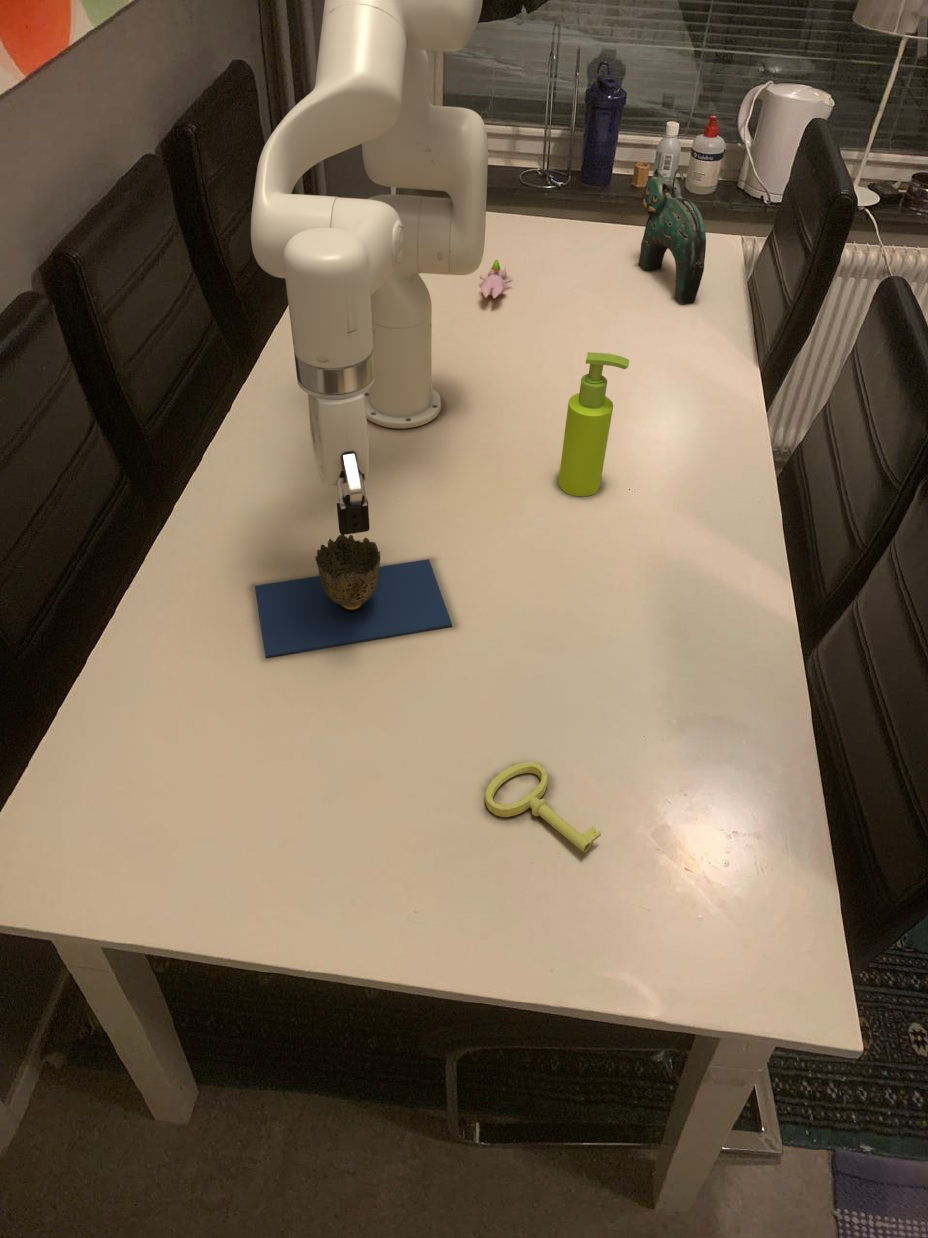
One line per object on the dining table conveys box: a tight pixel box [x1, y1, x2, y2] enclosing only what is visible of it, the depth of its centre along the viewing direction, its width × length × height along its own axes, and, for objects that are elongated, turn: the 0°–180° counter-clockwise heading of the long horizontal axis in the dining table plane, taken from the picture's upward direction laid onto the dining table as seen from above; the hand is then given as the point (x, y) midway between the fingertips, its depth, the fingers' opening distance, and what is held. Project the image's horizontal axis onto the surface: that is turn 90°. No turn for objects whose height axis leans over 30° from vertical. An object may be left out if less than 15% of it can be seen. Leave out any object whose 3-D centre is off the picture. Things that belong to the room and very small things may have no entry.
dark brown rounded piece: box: [314, 534, 381, 612], centre depth 108 cm, size 8×7×8 cm
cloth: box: [254, 558, 453, 659], centre depth 111 cm, size 12×22×1 cm, turn 105°
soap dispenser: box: [558, 351, 630, 497], centre depth 122 cm, size 6×7×20 cm
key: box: [484, 761, 602, 853], centre depth 91 cm, size 7×12×2 cm, turn 60°
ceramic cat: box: [638, 168, 707, 305], centre depth 168 cm, size 20×6×20 cm, turn 17°
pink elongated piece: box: [479, 259, 514, 299], centre depth 168 cm, size 6×6×15 cm
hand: (346, 502), depth 101 cm, fingers open, 9 cm apart
